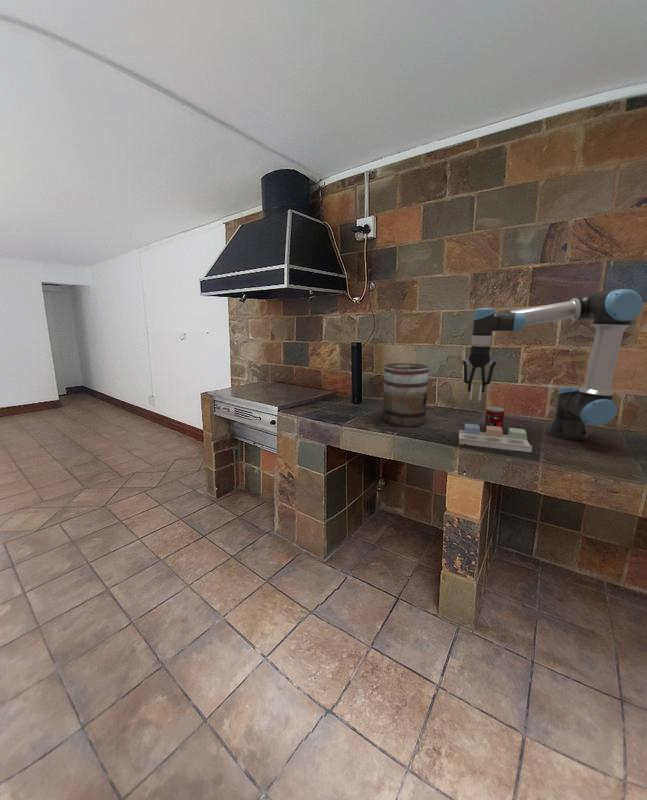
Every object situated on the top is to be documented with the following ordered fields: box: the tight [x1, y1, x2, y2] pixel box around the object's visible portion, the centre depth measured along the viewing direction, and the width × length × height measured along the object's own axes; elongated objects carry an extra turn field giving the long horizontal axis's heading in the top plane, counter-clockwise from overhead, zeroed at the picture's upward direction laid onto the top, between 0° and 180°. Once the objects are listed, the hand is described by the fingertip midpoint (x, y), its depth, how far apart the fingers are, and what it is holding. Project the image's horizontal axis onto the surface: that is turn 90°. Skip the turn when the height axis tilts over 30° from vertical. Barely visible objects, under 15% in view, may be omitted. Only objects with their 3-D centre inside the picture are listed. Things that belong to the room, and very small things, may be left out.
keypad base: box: [458, 429, 533, 453], centre depth 150 cm, size 28×12×3 cm, turn 69°
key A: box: [507, 427, 528, 439], centre depth 146 cm, size 6×6×3 cm
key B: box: [485, 426, 504, 437], centre depth 149 cm, size 6×6×3 cm
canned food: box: [484, 406, 506, 431], centre depth 166 cm, size 8×8×11 cm
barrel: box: [382, 362, 430, 429], centre depth 179 cm, size 22×22×30 cm
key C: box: [463, 423, 481, 434], centre depth 152 cm, size 6×6×3 cm
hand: (475, 399), depth 148 cm, fingers open, 3 cm apart
